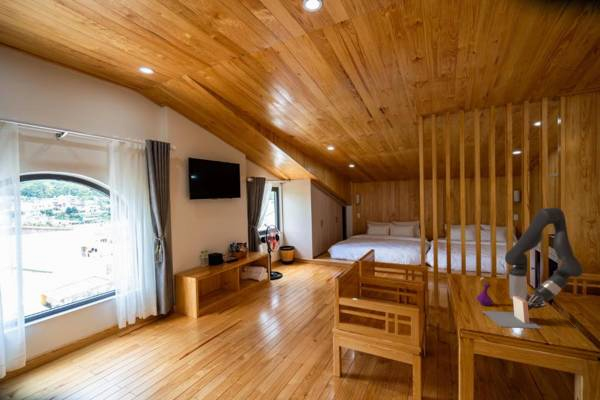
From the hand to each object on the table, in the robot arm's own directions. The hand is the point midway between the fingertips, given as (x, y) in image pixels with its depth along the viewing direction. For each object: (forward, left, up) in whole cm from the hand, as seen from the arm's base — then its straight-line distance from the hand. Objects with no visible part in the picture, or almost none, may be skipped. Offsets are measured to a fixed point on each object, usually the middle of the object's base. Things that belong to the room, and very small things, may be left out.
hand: (524, 310), depth 151 cm
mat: (+4, -7, -6) cm, 10 cm away
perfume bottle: (-14, -20, -6) cm, 26 cm away
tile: (+1, -1, -5) cm, 6 cm away
